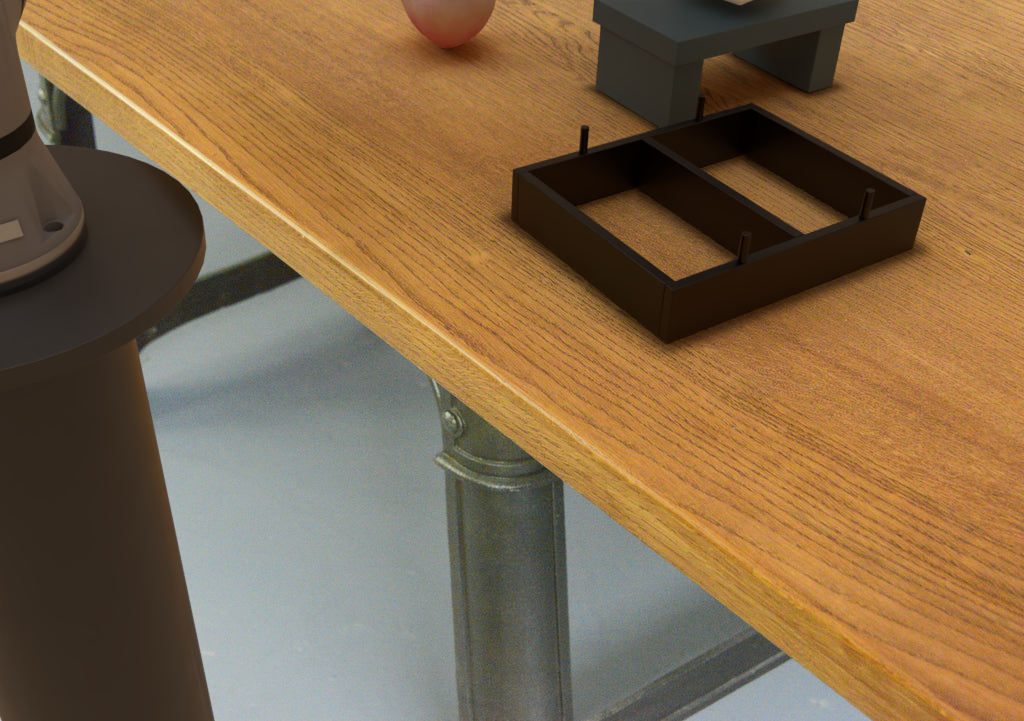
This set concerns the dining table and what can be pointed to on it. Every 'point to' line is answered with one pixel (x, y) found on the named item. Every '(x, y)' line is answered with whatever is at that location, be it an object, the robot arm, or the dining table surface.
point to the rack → (714, 215)
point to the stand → (711, 47)
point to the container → (739, 1)
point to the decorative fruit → (449, 19)
